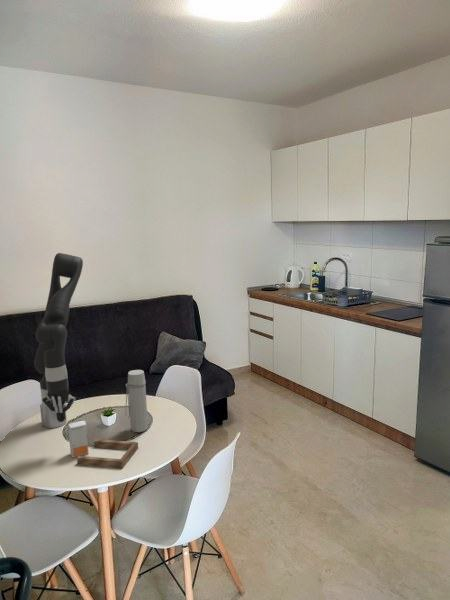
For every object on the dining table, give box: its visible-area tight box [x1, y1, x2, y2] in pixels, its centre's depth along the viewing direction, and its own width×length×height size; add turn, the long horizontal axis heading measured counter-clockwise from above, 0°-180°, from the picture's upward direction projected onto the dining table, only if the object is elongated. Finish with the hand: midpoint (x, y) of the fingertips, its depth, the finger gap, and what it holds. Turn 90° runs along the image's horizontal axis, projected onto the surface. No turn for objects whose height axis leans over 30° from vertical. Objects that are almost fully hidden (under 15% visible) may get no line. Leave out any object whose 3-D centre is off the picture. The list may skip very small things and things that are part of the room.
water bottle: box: [124, 369, 149, 433], centre depth 178 cm, size 9×8×25 cm
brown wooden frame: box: [76, 438, 139, 469], centre depth 159 cm, size 18×14×2 cm
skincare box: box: [67, 419, 89, 459], centre depth 160 cm, size 6×4×12 cm
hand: (61, 421), depth 161 cm, fingers closed
